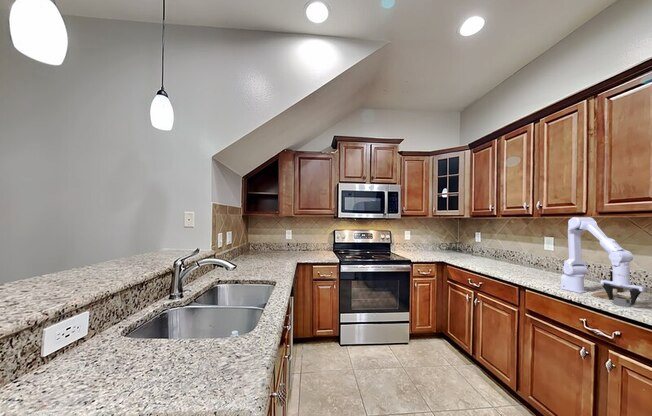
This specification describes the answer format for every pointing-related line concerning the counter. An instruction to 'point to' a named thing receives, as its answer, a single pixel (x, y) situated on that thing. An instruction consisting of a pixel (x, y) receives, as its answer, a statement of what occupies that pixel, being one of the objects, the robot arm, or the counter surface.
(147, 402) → the counter surface
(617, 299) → the hub ring
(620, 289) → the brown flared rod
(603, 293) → the post board
